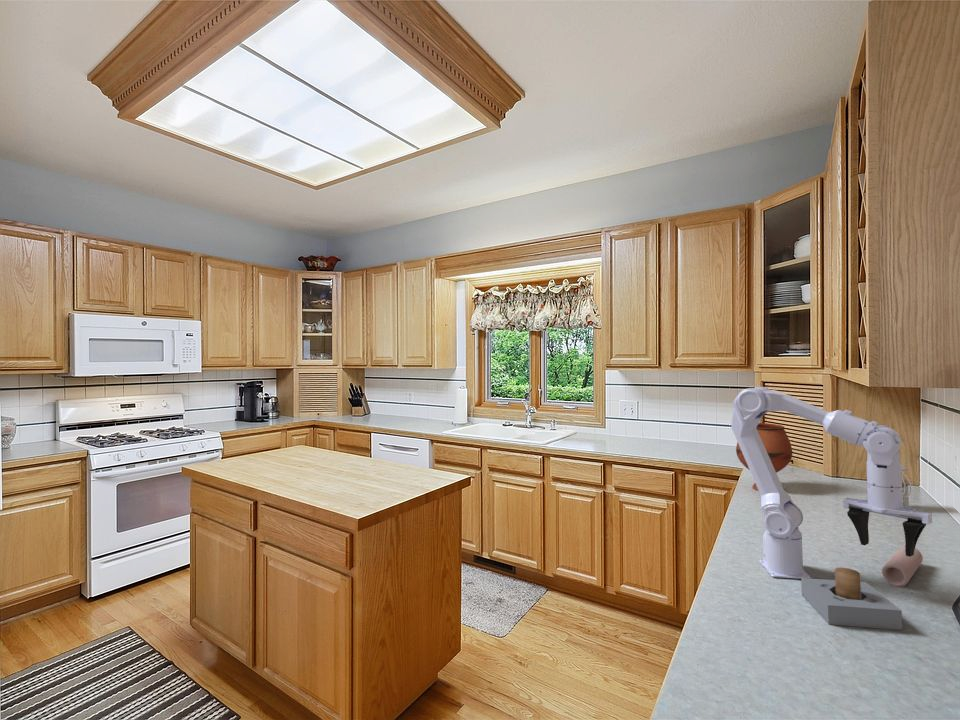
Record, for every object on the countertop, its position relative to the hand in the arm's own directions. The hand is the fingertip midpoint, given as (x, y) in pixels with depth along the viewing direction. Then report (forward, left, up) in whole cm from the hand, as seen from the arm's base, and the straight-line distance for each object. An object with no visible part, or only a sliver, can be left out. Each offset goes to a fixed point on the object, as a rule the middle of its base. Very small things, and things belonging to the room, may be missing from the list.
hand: (886, 549), depth 103 cm
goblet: (-91, +5, -10) cm, 92 cm away
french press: (-68, +37, -10) cm, 78 cm away
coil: (-13, +10, -10) cm, 19 cm away
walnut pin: (+8, -11, -9) cm, 16 cm away
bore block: (+8, -11, -10) cm, 17 cm away
